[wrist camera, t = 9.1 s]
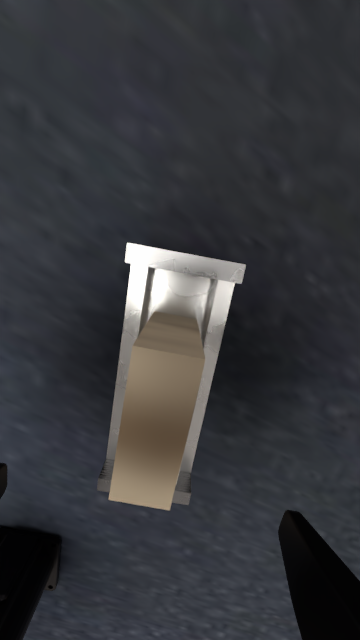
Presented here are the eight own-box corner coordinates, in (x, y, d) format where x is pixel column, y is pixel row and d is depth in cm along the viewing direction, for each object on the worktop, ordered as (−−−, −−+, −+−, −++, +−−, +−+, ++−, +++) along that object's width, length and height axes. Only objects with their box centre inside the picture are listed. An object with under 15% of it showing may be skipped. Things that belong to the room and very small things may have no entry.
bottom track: (187, 457, 20) (188, 505, 16) (114, 445, 20) (97, 490, 16) (231, 264, 16) (246, 264, 12) (141, 247, 16) (127, 242, 12)
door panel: (177, 418, 18) (172, 510, 12) (136, 411, 18) (108, 499, 11) (199, 319, 16) (209, 360, 10) (154, 311, 16) (132, 345, 10)
